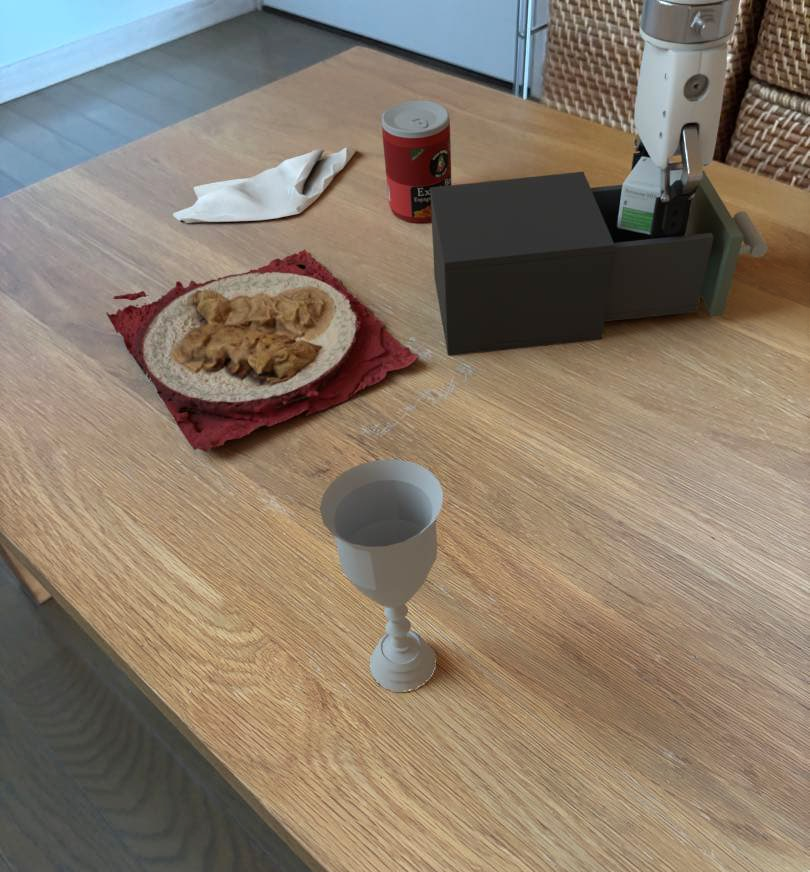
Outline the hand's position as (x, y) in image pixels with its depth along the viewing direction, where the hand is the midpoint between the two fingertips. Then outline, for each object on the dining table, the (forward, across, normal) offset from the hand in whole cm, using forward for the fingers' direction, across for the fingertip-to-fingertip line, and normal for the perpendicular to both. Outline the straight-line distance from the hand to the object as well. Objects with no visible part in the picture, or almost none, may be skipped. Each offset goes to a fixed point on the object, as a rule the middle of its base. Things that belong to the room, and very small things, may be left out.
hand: (655, 212), depth 84 cm
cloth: (+9, +29, +40) cm, 50 cm away
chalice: (+9, -42, +28) cm, 52 cm away
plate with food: (+9, -2, +40) cm, 42 cm away
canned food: (+9, +22, +22) cm, 32 cm away
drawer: (+8, 0, -1) cm, 9 cm away
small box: (+1, 0, 0) cm, 1 cm away
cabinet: (+9, 0, +14) cm, 16 cm away
